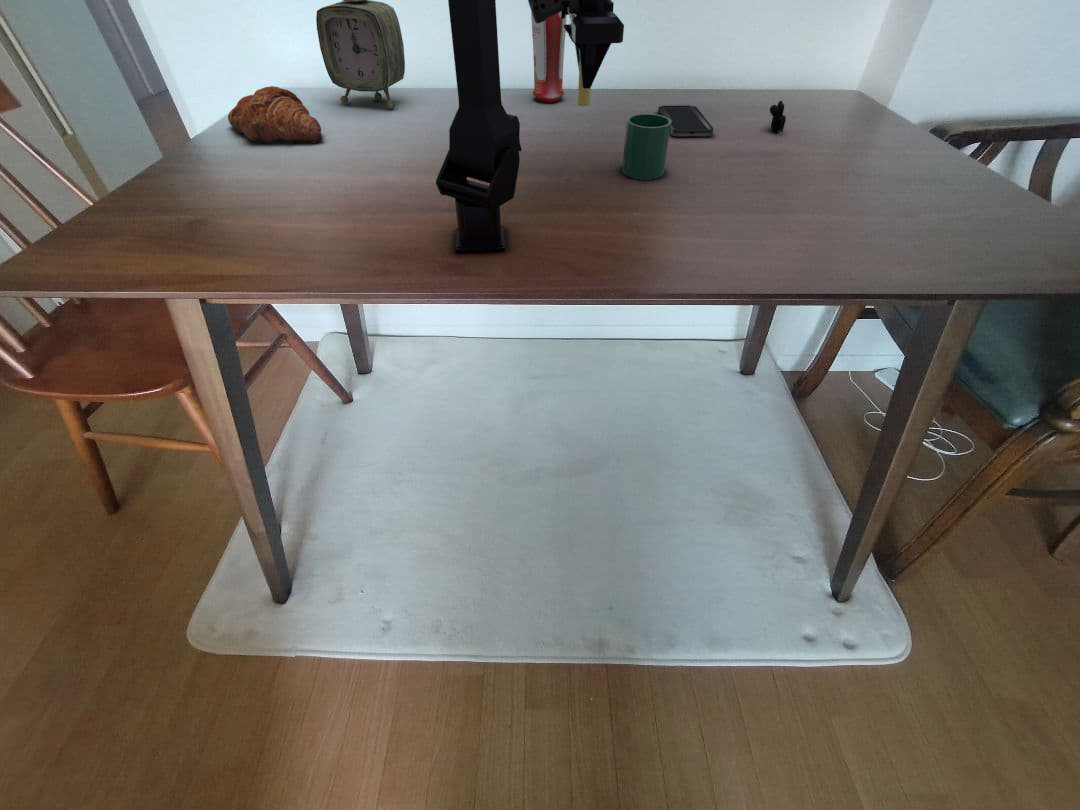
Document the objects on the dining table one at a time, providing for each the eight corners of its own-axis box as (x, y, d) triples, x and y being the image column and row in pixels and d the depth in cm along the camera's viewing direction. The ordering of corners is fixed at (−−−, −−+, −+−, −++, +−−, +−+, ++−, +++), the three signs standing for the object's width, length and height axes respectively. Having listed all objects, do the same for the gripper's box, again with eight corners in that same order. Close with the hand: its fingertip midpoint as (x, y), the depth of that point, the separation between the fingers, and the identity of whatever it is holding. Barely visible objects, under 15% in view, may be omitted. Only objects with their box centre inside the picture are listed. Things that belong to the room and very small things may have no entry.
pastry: (224, 153, 101) (206, 103, 96) (232, 125, 112) (216, 79, 106) (323, 143, 105) (311, 95, 99) (322, 117, 115) (311, 72, 110)
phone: (695, 105, 118) (714, 130, 107) (694, 111, 118) (713, 136, 108) (657, 105, 117) (672, 130, 106) (656, 111, 118) (671, 136, 107)
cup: (667, 179, 93) (676, 127, 88) (626, 180, 93) (632, 128, 87) (658, 163, 98) (665, 113, 93) (618, 164, 98) (623, 114, 92)
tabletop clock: (333, 106, 121) (299, -45, 103) (355, 94, 127) (327, -50, 110) (395, 113, 118) (371, -42, 100) (415, 100, 124) (395, -47, 107)
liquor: (527, 96, 126) (525, -69, 107) (558, 93, 128) (562, -70, 109) (537, 105, 121) (536, -66, 102) (569, 102, 123) (575, -67, 104)
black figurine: (782, 137, 108) (790, 108, 104) (769, 136, 108) (776, 107, 104) (775, 125, 113) (782, 96, 109) (762, 124, 113) (769, 96, 109)
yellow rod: (590, 106, 86) (594, 35, 80) (578, 106, 86) (581, 36, 80) (588, 102, 87) (592, 32, 81) (577, 102, 87) (579, 33, 81)
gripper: (523, -56, 80) (526, 70, 91) (536, -37, 67) (537, 108, 78) (602, -57, 81) (595, 68, 92) (630, -39, 68) (618, 105, 78)
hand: (585, 86), depth 85 cm, fingers closed on yellow rod, 2 cm apart
